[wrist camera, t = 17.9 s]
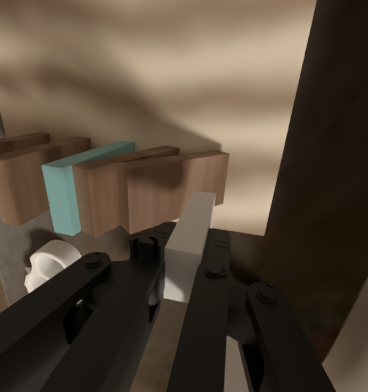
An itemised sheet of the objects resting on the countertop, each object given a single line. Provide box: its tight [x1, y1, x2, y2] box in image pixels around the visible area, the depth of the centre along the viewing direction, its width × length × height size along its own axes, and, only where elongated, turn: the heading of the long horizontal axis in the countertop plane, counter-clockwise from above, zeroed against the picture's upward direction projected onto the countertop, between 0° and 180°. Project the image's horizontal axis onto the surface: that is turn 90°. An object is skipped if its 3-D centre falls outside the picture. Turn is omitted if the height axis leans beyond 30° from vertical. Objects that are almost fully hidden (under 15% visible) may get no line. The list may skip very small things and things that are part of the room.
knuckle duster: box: [25, 240, 82, 304], centre depth 35 cm, size 3×18×15 cm
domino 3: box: [41, 141, 135, 236], centre depth 20 cm, size 2×5×10 cm, turn 177°
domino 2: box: [0, 137, 92, 226], centre depth 21 cm, size 2×5×10 cm, turn 177°
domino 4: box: [72, 145, 180, 238], centre depth 19 cm, size 2×5×10 cm, turn 177°
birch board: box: [0, 0, 317, 236], centre depth 22 cm, size 26×30×1 cm
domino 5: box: [117, 150, 230, 234], centre depth 19 cm, size 2×5×10 cm
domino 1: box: [0, 133, 51, 154], centre depth 22 cm, size 2×5×10 cm, turn 177°
